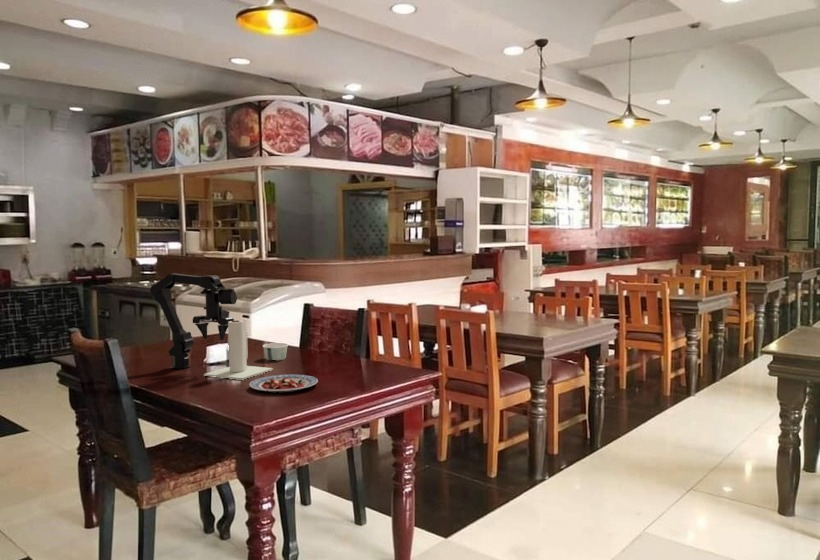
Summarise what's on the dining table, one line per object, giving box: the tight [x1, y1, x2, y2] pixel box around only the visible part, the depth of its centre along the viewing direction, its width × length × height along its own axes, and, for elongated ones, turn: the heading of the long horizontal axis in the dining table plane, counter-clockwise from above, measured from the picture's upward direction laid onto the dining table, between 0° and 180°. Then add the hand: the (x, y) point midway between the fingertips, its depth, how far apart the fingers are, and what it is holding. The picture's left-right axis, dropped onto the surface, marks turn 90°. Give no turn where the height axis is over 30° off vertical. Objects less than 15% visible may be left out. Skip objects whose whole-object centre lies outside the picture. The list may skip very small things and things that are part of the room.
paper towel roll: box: [227, 320, 248, 372], centre depth 261 cm, size 7×6×21 cm
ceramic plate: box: [249, 373, 319, 393], centre depth 238 cm, size 26×26×3 cm
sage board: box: [203, 365, 274, 381], centre depth 262 cm, size 20×20×1 cm
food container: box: [262, 342, 289, 361], centre depth 293 cm, size 12×12×6 cm
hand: (213, 339), depth 270 cm, fingers open, 9 cm apart
